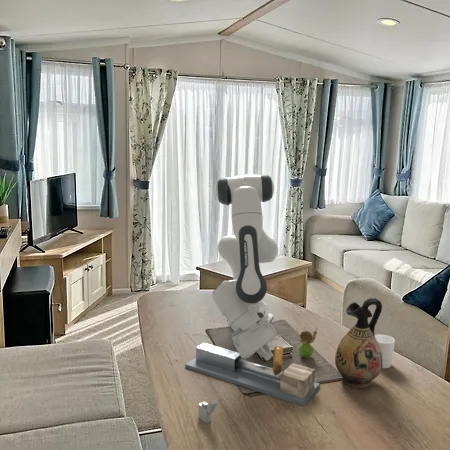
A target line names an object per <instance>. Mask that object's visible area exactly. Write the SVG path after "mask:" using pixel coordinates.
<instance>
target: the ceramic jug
mask: <svg viewBox="0 0 450 450" xmlns="http://www.w3.org/2000/svg"><path fill="white" fill-rule="evenodd" d="M372 305H374V306H375V309H374V312H373V313H372V312H371V310H370V309H369V307H370V306H372ZM345 311H346V314H347V315H348V316H350V317H353V318H356V319H357V321H356V323H355V325H354V326H352V327H351V328H350V330H348V332H346V334H345V335H344V336H343V338H342V339H341V341H340V343H339V344H338V346H337V349H336V352H335V355H334V360H335V361H334V362H335V366H336V369H337V372H338V373H339V374H340V377H342V382H343V383H345V384H346V386H349V387H352V388H358V389H359V388H366V387H368V386H369V385H370V384H371V383H372V381H373V380H375V379H376V378H377V377H379V375H380V374H381V372H382V369H383V368H382V364H383V359H382V352H381V349H380V346H379V344H378V342H377V340H376V338H375V336H374V335H375V329H376V325H377V323H378V320H379V318H380V316H381V313H382V311H383V305H382V302H381V300H379V299H377V298H375V297H373V298H372V297H369V298H367V299H365V301H363V304H362V306H361V305H360V304H358V303H357V302H356V301H354V302H352V303H350V304H349V305H348V306H347V308H346V310H345ZM369 318H370V322H369V320H368V319H369Z"/></svg>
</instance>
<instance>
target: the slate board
mask: <svg viewBox="0 0 450 450" xmlns="http://www.w3.org/2000/svg"><path fill="white" fill-rule="evenodd" d="M184 367H185V368H186V369H188V370H189V369H190V370H191V371H195V372H199V373H202V374H204V375H207V376H209V377H214V378H217V379H220V380H223V381H225V382H228V383H232V384H234V385H236V386H240V385H241V387H243V386H244V388H246V387H247V389H249V388H250V390H253V391H255V392H258V393H261V394H264V395H268V396H271V397H274V398H276V399H280V400H283V401H286V402H289V403H292V404H295V405H298V406H301V407H304V405H305V404H306V403H307V402H308V401H309V400H310V399H311V397H312V396H313V395H314V394H315V392H317V391H318V389H319V388H320V382H316V381H314V386H313V388H312V389H311V390H310V391H309V392H308V393H307V394H306V395H305V397H304V398H301V397H298V396H295V395H292V394H289V393H286V392H283V391H280V381H278V380H275V379H272V378H269V377H265V376H262V375H259V374H256V373H253V372H249V371H246V370H243V369H240V368H239V369H238V370H236V371H235V372H231V371H228V370H225V369H222V368H218V367H215V366H212V365H209V364H206V363H203V362H200V361H196V356H195V357H194V358H192V359H191V360H189V361H188V362H186V363H185V364H184Z"/></svg>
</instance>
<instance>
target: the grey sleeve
mask: <svg viewBox="0 0 450 450" xmlns="http://www.w3.org/2000/svg"><path fill="white" fill-rule="evenodd" d="M195 350H196V351H195V357H196V361H200V362H203V363H206V364H209V365H212V366H215V367H218V368H222V369H225V370H228V371H231V372H235V371H236V370H238V369H239V368H237V367H235V359H237V358H240V359H243V358H242V357H241V356H240V354H239V352H238V351H233V350H230V349H227V348H224V347H221V346H217V345H214V344H210V343H206V342H203V343H201V344H199V345H197V346H196V348H195Z"/></svg>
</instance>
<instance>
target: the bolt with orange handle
mask: <svg viewBox="0 0 450 450" xmlns="http://www.w3.org/2000/svg"><path fill="white" fill-rule="evenodd" d="M283 355H284V347H282V346H281V345H275V346H274V347H273V357H272V358H273V362H272V367H269V366H266V365H263V364H259V363H256V362H252V361H250V360H249V361H248V360H247V359H243V358H241V359H240V358H237V359H235V367H237V368H240V369H243V370H246V371H249V372H253V373H256V374H259V375H262V376H265V377H269V378H272V379H275V380H278V381H281V373H282V372H284V371H283V361H284V359H283V357H284V356H283Z"/></svg>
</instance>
